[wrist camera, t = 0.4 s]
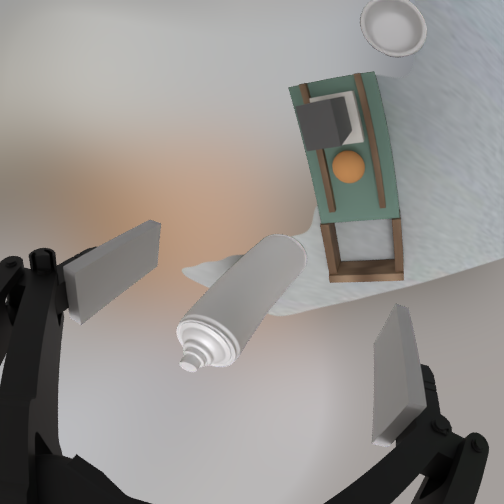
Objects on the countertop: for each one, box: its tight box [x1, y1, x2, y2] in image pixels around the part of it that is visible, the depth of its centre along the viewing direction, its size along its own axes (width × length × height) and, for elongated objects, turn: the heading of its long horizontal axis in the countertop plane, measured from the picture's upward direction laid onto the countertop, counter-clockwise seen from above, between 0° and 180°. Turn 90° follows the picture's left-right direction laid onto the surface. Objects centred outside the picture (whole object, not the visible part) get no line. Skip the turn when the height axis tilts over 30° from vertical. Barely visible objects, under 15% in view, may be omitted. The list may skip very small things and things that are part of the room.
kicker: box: [295, 91, 365, 151], centre depth 29 cm, size 5×6×13 cm
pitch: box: [289, 72, 400, 224], centre depth 37 cm, size 11×19×3 cm, turn 17°
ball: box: [332, 151, 365, 183], centre depth 35 cm, size 4×4×4 cm
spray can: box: [177, 234, 307, 372], centre depth 43 cm, size 12×11×25 cm
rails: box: [299, 73, 386, 213], centre depth 35 cm, size 8×17×1 cm, turn 17°
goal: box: [320, 209, 404, 283], centre depth 43 cm, size 11×9×4 cm
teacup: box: [360, 0, 427, 57], centre depth 25 cm, size 10×8×5 cm
